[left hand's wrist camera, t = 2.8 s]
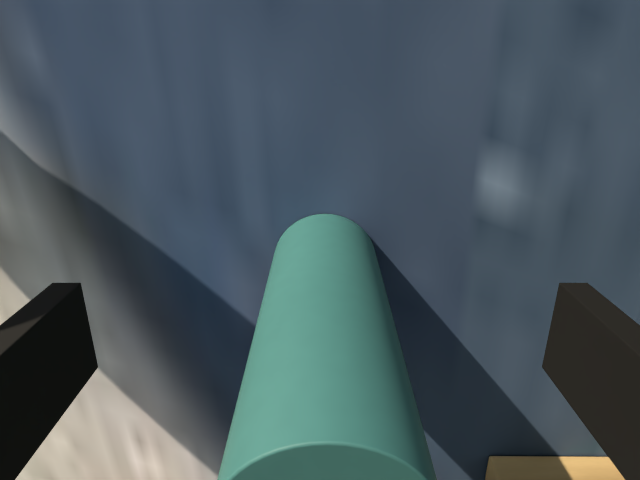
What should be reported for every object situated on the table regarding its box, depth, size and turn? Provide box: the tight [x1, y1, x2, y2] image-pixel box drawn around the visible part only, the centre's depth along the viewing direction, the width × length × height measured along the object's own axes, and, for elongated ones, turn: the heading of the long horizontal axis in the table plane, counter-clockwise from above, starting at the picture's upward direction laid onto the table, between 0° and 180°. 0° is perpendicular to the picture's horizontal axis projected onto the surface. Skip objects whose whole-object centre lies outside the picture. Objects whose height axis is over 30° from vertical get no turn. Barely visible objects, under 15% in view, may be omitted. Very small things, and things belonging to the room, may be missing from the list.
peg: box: [217, 214, 437, 480], centre depth 12 cm, size 4×4×10 cm
